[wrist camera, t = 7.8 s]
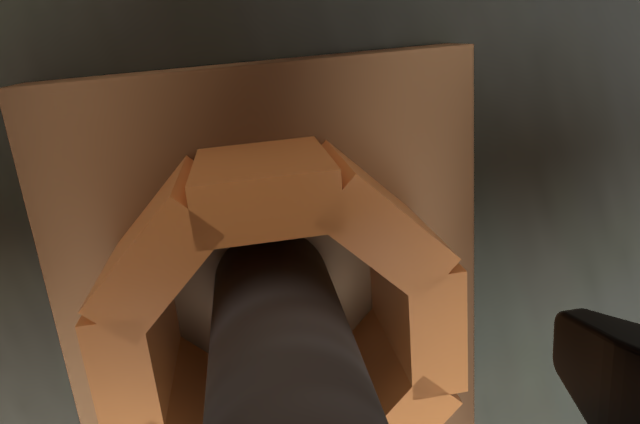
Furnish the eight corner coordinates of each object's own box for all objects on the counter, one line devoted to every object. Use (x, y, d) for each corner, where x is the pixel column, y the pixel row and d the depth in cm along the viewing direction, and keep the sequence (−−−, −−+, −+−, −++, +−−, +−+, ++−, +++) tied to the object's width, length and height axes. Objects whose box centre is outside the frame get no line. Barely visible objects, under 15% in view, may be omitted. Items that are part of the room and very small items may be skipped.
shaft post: (447, 42, 13) (763, 53, 5) (451, 389, 15) (662, 729, 8) (24, 82, 12) (-365, 166, 4) (110, 444, 14) (-27, 895, 7)
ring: (409, 125, 12) (466, 154, 9) (419, 387, 13) (468, 480, 11) (94, 161, 11) (44, 204, 8) (151, 430, 13) (127, 544, 10)
